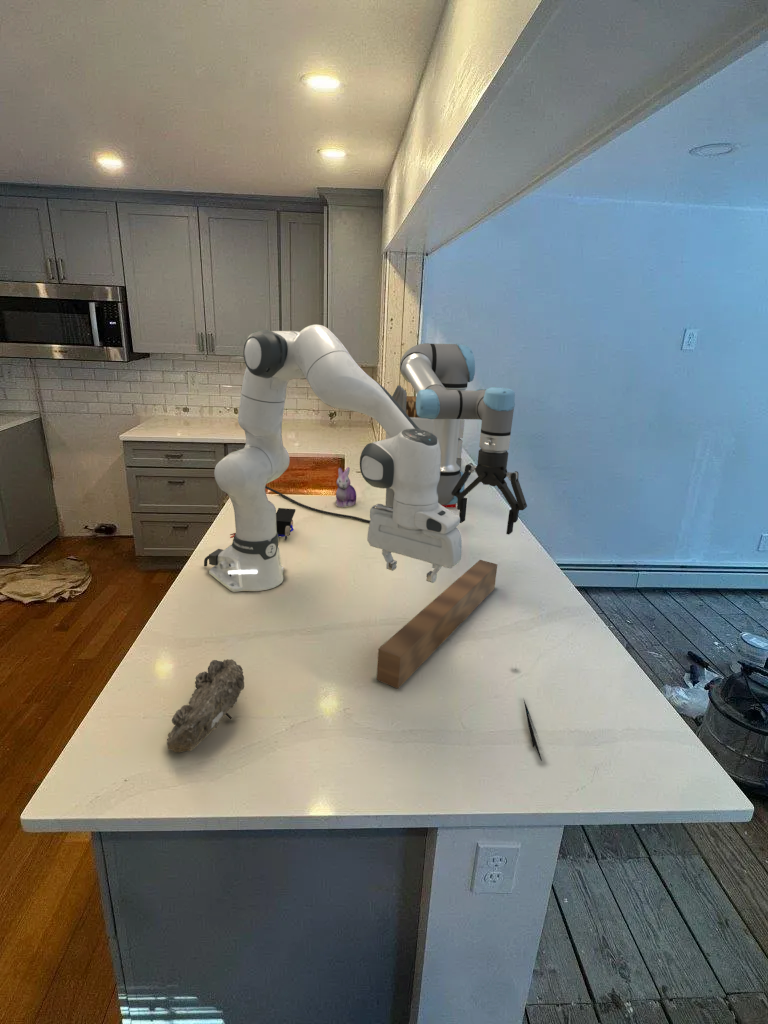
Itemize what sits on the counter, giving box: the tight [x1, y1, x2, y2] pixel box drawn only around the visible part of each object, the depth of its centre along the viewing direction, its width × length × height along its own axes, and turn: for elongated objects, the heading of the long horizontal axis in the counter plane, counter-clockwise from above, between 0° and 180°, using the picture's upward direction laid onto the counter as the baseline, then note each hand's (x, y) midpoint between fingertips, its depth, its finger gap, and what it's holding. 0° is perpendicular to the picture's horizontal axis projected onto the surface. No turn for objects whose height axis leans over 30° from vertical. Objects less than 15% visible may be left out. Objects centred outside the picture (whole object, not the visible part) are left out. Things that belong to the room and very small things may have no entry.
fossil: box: [166, 658, 245, 754], centre depth 106 cm, size 22×10×15 cm
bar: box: [376, 559, 498, 689], centre depth 141 cm, size 55×5×8 cm, turn 149°
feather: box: [514, 668, 543, 762], centre depth 113 cm, size 2×28×2 cm
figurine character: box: [276, 507, 296, 541], centre depth 193 cm, size 7×8×15 cm
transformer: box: [384, 384, 466, 472], centre depth 268 cm, size 34×33×41 cm
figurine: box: [335, 466, 357, 508], centre depth 225 cm, size 9×10×15 cm
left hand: (410, 575), depth 117 cm, fingers open, 8 cm apart
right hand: (485, 527), depth 152 cm, fingers open, 13 cm apart
